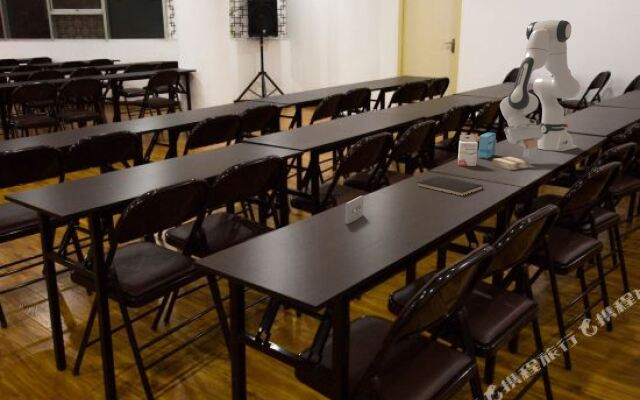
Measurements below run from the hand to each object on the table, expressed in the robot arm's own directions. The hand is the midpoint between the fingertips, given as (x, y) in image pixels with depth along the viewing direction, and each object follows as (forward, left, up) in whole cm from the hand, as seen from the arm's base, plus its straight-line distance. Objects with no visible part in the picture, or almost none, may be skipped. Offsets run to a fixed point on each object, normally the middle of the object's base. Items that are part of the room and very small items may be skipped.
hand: (531, 148), depth 291 cm
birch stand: (+12, -1, -8) cm, 15 cm away
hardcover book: (+61, +17, -9) cm, 64 cm away
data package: (+9, -23, -8) cm, 25 cm away
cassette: (+118, +35, -8) cm, 124 cm away
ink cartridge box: (+29, -13, -8) cm, 33 cm away
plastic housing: (0, -1, -5) cm, 5 cm away
